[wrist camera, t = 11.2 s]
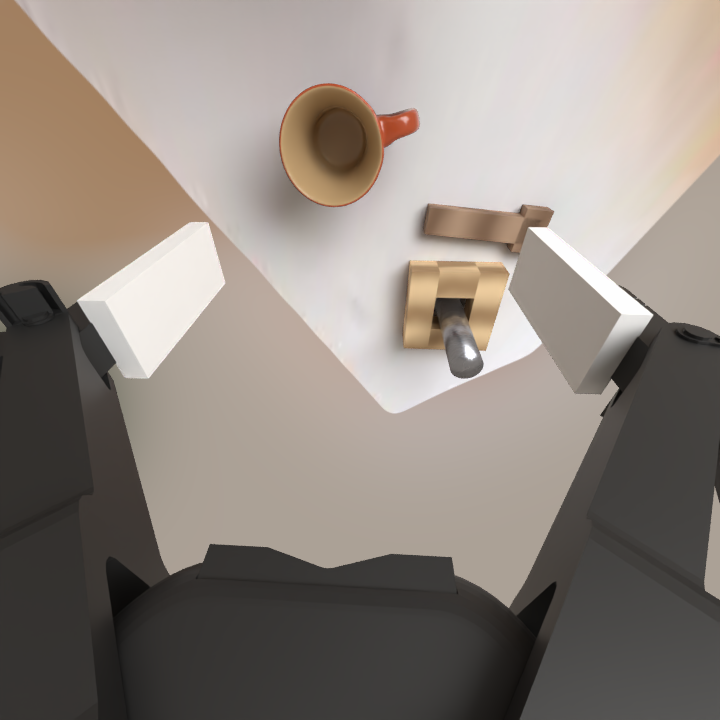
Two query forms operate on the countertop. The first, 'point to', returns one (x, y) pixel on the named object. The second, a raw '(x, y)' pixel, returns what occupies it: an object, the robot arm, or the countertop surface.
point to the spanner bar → (485, 223)
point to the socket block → (452, 281)
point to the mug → (337, 143)
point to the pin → (458, 338)
